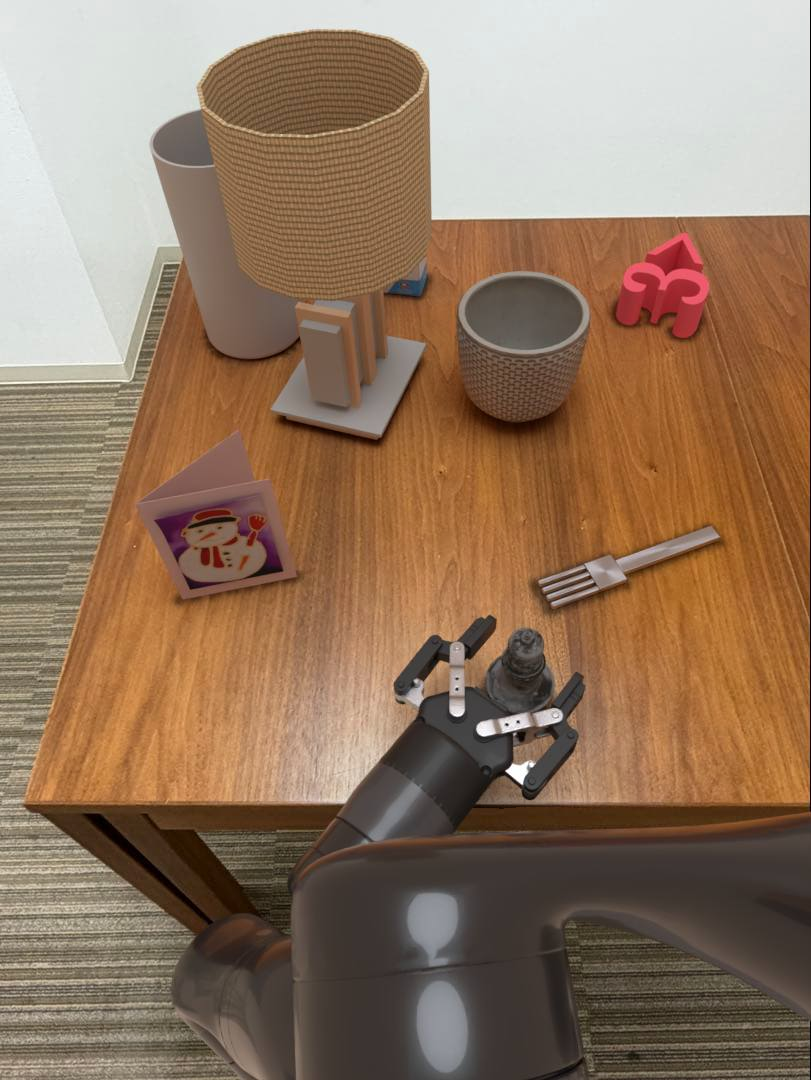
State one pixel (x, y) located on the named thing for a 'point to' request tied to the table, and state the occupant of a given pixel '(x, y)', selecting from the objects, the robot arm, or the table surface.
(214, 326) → the cylinder vase
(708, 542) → the fork
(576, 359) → the planter
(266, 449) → the table surface
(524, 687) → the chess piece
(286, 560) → the greeting card
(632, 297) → the letters
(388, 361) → the desk lamp
